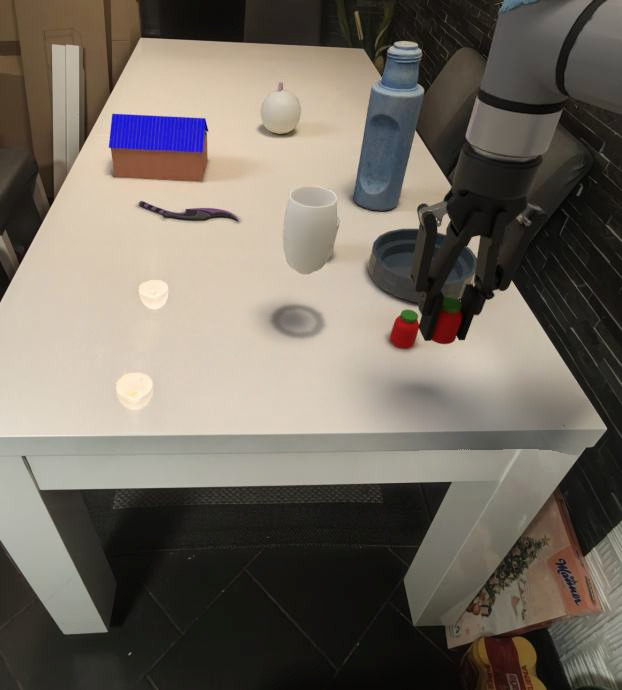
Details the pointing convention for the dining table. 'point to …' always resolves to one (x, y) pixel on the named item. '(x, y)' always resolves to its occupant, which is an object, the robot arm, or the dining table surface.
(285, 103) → the ornament
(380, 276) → the bowl
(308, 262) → the cup
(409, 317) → the strawberry
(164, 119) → the house
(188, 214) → the knife
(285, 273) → the dining table surface
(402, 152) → the bottle
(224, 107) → the dining table surface
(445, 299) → the strawberry
